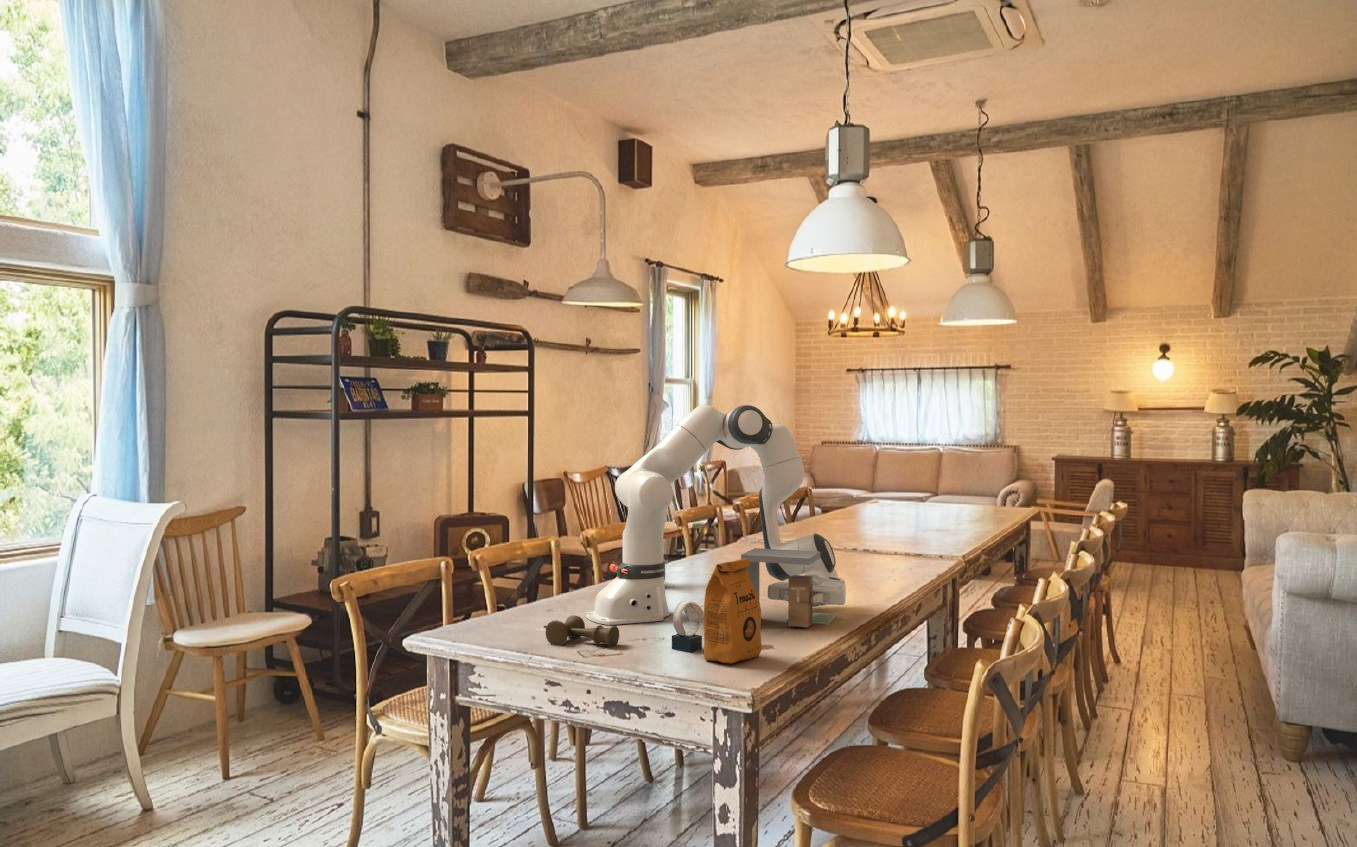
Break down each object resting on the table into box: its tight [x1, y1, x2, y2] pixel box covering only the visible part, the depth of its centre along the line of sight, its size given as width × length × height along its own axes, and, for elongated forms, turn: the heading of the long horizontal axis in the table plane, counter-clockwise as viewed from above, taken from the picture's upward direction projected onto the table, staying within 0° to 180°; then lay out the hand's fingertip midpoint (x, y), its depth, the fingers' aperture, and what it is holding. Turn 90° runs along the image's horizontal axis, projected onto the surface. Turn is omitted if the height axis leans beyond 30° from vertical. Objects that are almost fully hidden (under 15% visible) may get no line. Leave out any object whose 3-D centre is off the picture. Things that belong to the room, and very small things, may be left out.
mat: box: [785, 611, 838, 625], centre depth 250 cm, size 11×11×1 cm
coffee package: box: [703, 558, 762, 664], centre depth 210 cm, size 10×12×22 cm
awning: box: [740, 547, 820, 599], centre depth 242 cm, size 12×18×19 cm
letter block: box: [787, 574, 814, 628], centre depth 240 cm, size 5×5×12 cm
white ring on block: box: [671, 600, 704, 654], centre depth 219 cm, size 6×8×11 cm
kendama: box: [543, 615, 620, 648], centre depth 225 cm, size 6×10×20 cm
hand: (799, 598), depth 239 cm, fingers closed on letter block, 5 cm apart
